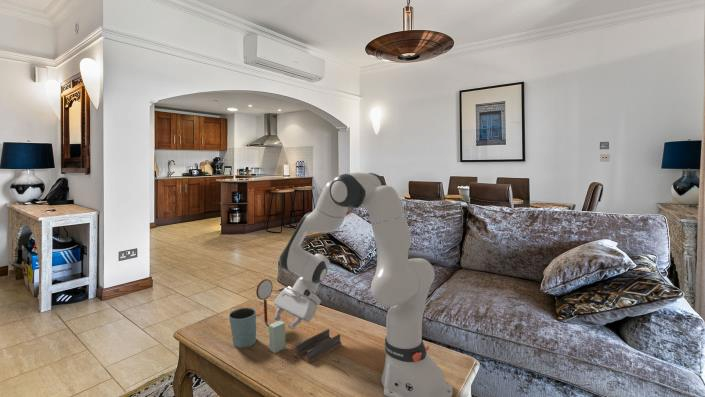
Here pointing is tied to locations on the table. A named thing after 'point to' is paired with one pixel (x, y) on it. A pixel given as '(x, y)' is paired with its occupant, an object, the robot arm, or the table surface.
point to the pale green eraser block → (277, 336)
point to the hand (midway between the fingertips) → (283, 324)
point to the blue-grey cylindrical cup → (243, 327)
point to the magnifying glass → (264, 294)
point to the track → (317, 346)
